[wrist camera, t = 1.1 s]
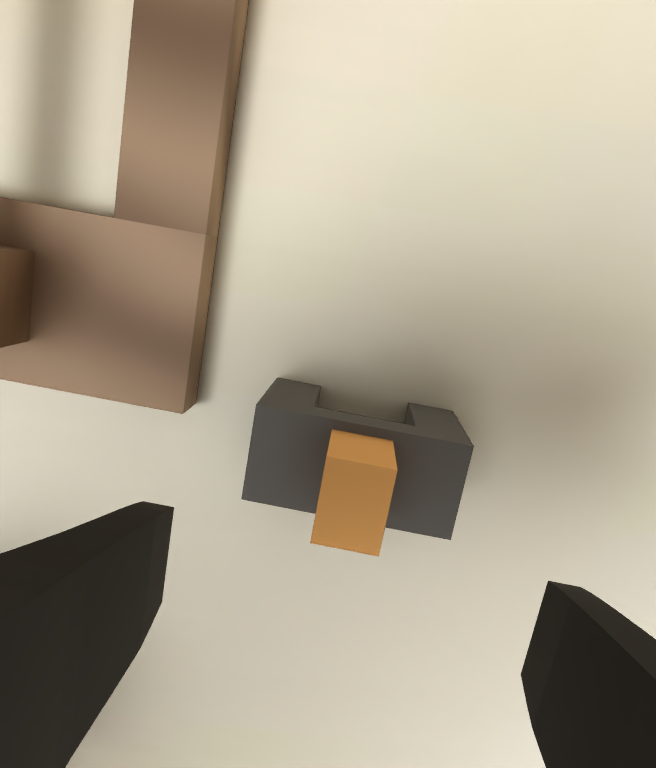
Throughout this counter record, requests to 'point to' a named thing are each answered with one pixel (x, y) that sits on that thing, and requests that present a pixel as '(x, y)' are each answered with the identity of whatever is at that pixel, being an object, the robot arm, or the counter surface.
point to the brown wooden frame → (133, 227)
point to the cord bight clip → (356, 468)
